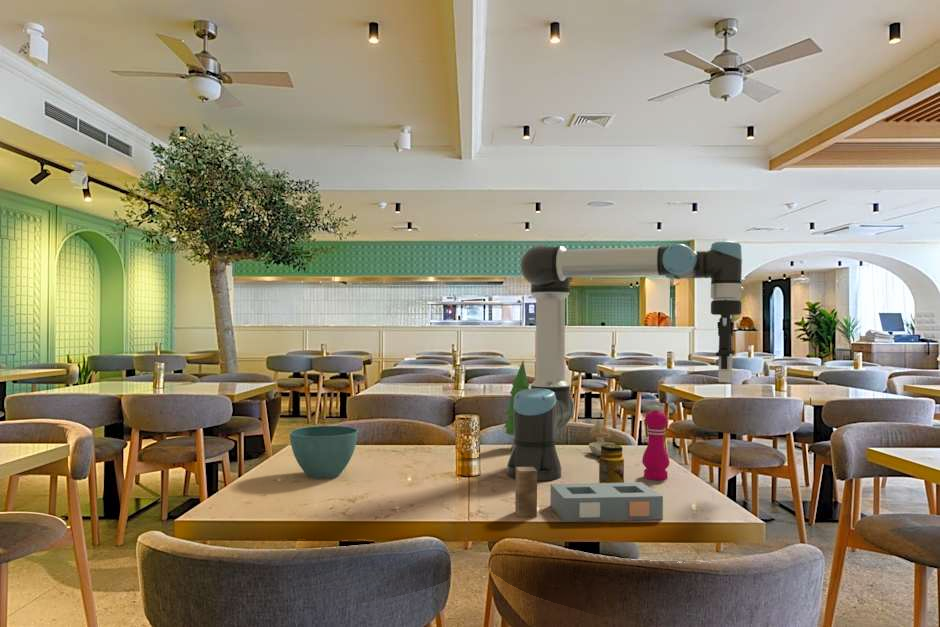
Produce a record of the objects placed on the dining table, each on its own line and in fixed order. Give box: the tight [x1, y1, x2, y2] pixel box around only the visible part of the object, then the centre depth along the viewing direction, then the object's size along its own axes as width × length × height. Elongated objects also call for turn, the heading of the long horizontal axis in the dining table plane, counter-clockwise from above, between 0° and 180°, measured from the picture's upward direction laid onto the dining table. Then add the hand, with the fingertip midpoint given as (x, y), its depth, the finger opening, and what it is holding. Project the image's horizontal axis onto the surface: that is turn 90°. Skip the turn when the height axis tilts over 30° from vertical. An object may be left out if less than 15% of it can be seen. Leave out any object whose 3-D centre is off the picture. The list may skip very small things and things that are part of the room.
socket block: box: [549, 481, 664, 523], centre depth 142 cm, size 22×13×5 cm, turn 97°
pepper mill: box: [641, 404, 670, 481], centre depth 175 cm, size 7×7×20 cm
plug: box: [514, 467, 538, 518], centre depth 140 cm, size 4×4×10 cm
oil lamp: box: [588, 419, 617, 457], centre depth 204 cm, size 9×21×10 cm, turn 176°
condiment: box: [598, 443, 625, 483], centre depth 158 cm, size 7×8×12 cm
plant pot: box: [289, 425, 359, 480], centre depth 173 cm, size 18×18×12 cm
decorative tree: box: [503, 360, 531, 450], centre depth 213 cm, size 10×9×30 cm
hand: (725, 380), depth 168 cm, fingers open, 13 cm apart
